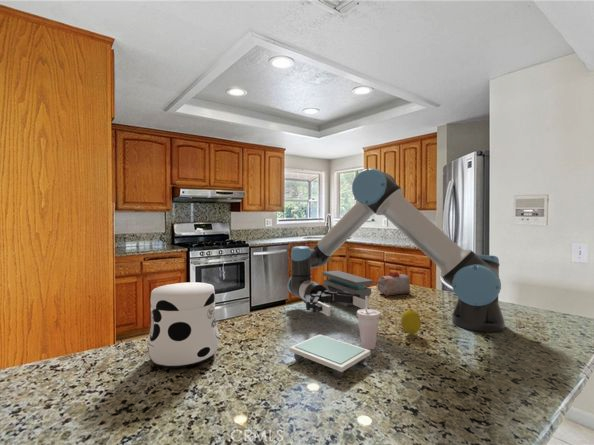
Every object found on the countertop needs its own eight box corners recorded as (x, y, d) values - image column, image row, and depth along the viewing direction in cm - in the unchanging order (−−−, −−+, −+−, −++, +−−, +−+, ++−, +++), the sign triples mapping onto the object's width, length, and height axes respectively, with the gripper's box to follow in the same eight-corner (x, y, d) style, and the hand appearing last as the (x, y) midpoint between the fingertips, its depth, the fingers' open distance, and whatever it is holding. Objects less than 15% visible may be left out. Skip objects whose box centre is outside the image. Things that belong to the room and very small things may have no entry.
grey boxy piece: (386, 297, 145) (386, 274, 144) (375, 293, 152) (375, 271, 152) (411, 294, 149) (411, 272, 149) (400, 290, 157) (400, 269, 157)
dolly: (370, 364, 81) (370, 349, 81) (341, 382, 72) (341, 366, 72) (319, 346, 92) (319, 333, 91) (289, 360, 83) (289, 346, 83)
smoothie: (354, 342, 94) (353, 293, 94) (375, 341, 95) (376, 293, 94) (360, 351, 88) (360, 299, 87) (383, 350, 88) (383, 299, 88)
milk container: (232, 350, 89) (231, 284, 88) (186, 380, 73) (184, 300, 73) (183, 340, 96) (182, 279, 96) (131, 365, 81) (130, 292, 80)
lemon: (422, 339, 96) (422, 312, 96) (402, 338, 97) (402, 311, 97) (419, 332, 102) (419, 306, 101) (400, 331, 103) (400, 305, 103)
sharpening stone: (373, 308, 128) (373, 280, 127) (356, 311, 124) (356, 282, 124) (337, 294, 150) (337, 270, 150) (322, 296, 147) (322, 271, 146)
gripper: (342, 299, 124) (380, 314, 105) (281, 307, 113) (312, 327, 94) (342, 279, 124) (380, 291, 105) (281, 286, 112) (312, 301, 94)
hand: (348, 308), depth 99 cm, fingers open, 13 cm apart
